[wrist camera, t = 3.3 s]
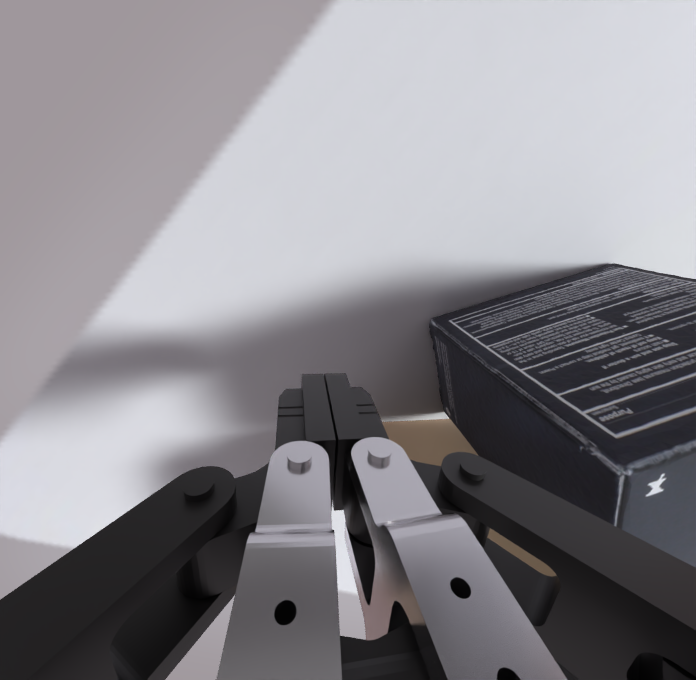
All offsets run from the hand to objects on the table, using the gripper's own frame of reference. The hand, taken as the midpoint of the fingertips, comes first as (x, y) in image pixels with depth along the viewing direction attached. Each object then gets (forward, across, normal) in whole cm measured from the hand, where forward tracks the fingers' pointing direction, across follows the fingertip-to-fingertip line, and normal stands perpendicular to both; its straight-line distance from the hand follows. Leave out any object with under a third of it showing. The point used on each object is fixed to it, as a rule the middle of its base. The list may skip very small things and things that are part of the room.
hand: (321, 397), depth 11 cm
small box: (+5, -12, 0) cm, 13 cm away
